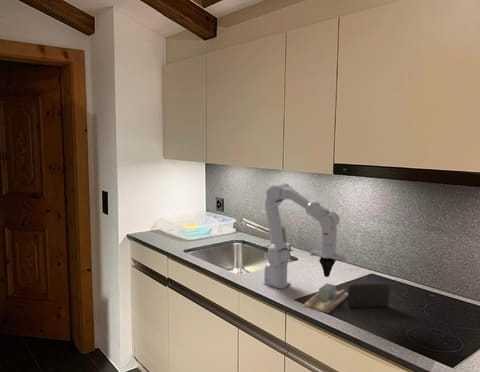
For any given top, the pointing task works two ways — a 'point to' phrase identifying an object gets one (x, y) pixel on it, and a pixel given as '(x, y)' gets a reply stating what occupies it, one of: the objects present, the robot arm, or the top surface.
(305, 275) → the top surface
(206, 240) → the top surface
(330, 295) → the module
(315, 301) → the rail board
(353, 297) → the leaning round-cornered charcoal block
